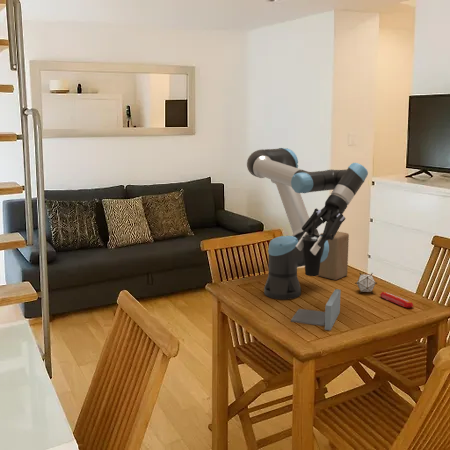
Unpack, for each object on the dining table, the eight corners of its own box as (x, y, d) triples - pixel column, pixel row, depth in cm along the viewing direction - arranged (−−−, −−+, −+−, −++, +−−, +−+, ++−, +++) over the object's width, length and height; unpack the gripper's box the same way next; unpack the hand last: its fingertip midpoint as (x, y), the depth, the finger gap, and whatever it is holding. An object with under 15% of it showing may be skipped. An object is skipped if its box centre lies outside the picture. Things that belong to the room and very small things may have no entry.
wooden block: (348, 275, 254) (349, 232, 249) (336, 281, 247) (337, 237, 242) (329, 271, 260) (330, 229, 256) (317, 276, 253) (318, 233, 249)
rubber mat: (290, 321, 202) (290, 320, 202) (298, 310, 213) (298, 308, 213) (323, 326, 198) (323, 324, 198) (330, 314, 209) (330, 312, 209)
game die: (367, 299, 234) (380, 279, 235) (370, 299, 226) (383, 278, 226) (349, 287, 236) (361, 267, 236) (351, 287, 227) (364, 266, 228)
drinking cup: (317, 278, 197) (319, 223, 192) (297, 275, 201) (299, 221, 196) (326, 273, 203) (328, 219, 198) (306, 269, 207) (308, 216, 202)
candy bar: (414, 308, 214) (415, 301, 213) (408, 310, 212) (408, 303, 212) (384, 296, 228) (385, 289, 227) (377, 297, 226) (378, 290, 225)
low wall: (324, 329, 195) (325, 305, 193) (334, 311, 211) (335, 289, 209) (330, 330, 194) (331, 306, 192) (339, 312, 211) (340, 289, 209)
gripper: (364, 210, 198) (330, 262, 192) (324, 202, 213) (292, 250, 208) (354, 197, 194) (320, 250, 188) (314, 190, 209) (281, 239, 204)
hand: (305, 250), depth 198 cm, fingers closed on drinking cup, 7 cm apart
